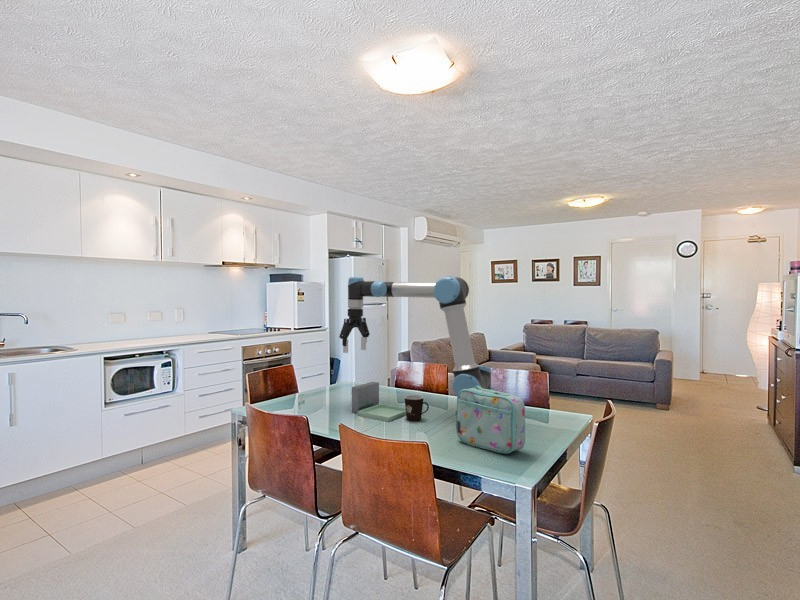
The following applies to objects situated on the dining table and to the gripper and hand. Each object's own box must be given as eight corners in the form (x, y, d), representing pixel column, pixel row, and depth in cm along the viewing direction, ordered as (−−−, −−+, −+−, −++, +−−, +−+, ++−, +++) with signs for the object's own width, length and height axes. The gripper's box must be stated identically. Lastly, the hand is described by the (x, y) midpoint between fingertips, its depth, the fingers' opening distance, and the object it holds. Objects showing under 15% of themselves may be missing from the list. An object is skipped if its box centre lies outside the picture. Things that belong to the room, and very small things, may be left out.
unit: (379, 406, 220) (379, 382, 220) (358, 413, 207) (358, 388, 207) (372, 405, 223) (372, 381, 222) (351, 412, 209) (351, 386, 209)
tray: (411, 413, 208) (411, 409, 208) (388, 422, 193) (388, 417, 193) (381, 407, 218) (381, 403, 218) (357, 415, 203) (357, 411, 203)
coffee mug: (401, 418, 199) (401, 396, 199) (418, 416, 203) (418, 394, 203) (412, 425, 189) (412, 401, 189) (430, 422, 192) (430, 399, 192)
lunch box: (450, 441, 168) (450, 384, 168) (466, 435, 176) (467, 381, 175) (512, 459, 149) (512, 396, 149) (527, 452, 157) (528, 391, 156)
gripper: (365, 307, 230) (364, 348, 231) (332, 308, 210) (331, 353, 210) (376, 308, 226) (376, 349, 227) (344, 309, 206) (343, 354, 206)
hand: (354, 351), depth 218 cm, fingers open, 13 cm apart
